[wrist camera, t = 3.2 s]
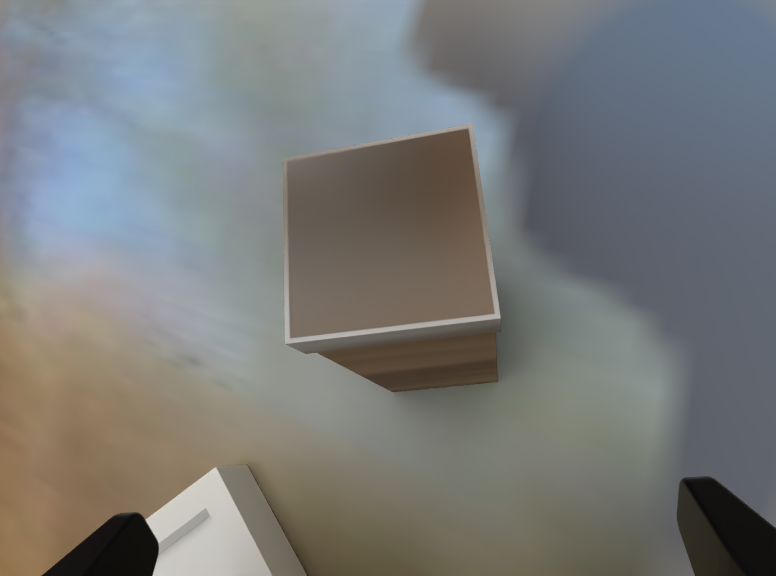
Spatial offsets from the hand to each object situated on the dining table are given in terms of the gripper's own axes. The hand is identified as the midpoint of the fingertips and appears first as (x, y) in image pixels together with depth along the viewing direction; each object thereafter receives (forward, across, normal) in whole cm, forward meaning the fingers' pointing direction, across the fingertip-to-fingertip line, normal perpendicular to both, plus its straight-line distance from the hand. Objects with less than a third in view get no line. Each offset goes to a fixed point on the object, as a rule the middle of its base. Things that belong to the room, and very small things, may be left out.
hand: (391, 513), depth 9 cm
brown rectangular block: (+12, 0, +5) cm, 13 cm away
